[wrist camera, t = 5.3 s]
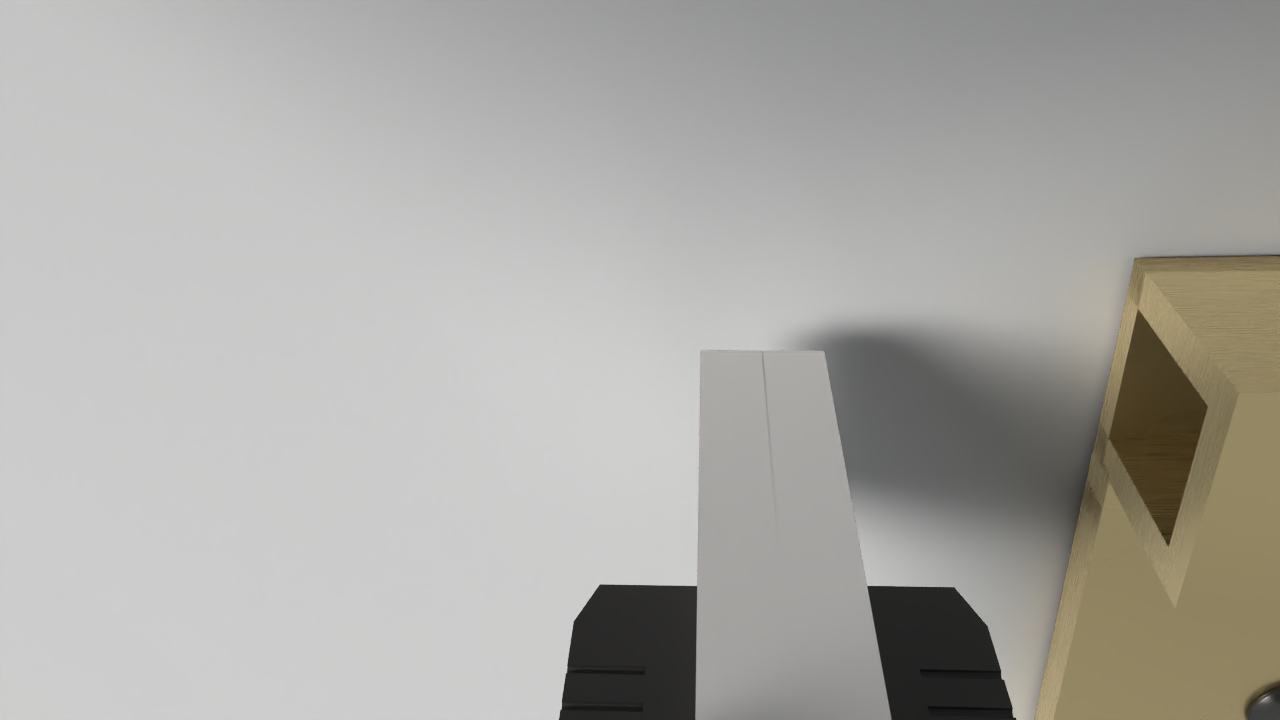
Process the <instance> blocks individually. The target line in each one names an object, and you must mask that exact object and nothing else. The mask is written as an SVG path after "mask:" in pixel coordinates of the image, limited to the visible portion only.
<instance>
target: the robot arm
mask: <svg viewBox="0 0 1280 720" xmlns="http://www.w3.org/2000/svg"><path fill="white" fill-rule="evenodd" d="M1012 709H1013V708H1012V705H1011V701H1010V698H1009V695H1008V692H1007V688H1006V685H1005V682H1004V680H1002V679H1001V669H1000V666H999V662H998V659H997V656H996V653H995V649H994V646H993V643H992V640H991V636H990V633H989V630H988V627H987V625H986V624H985V623H984V622H983V621H982V619H981V618H980V617H979V616H978V615H977V614H976V612H975V611H974V610H973V609H972V608H971V606H970V605H969V604H968V603H967V602H966V601H965V599H964V598H963V597H962V596H961V595H960V594H959V592H958V591H957V590H956V589H955V588H954V587H895V586H867V583H866V577H865V572H864V566H863V561H862V555H861V550H860V544H859V539H858V533H857V528H856V522H855V517H854V511H853V506H852V500H851V495H850V490H849V484H848V479H847V473H846V468H845V462H844V457H843V451H842V446H841V440H840V435H839V429H838V424H837V418H836V413H835V407H834V402H833V396H832V391H831V385H830V380H829V375H828V369H827V364H826V358H825V353H824V351H743V350H701V358H700V429H699V499H698V570H697V586H652V585H599V587H598V588H597V590H596V591H595V592H594V594H593V595H592V597H591V598H590V599H589V601H588V602H587V604H586V605H585V607H584V608H583V609H582V611H581V612H580V614H579V615H578V616H577V618H576V619H575V621H574V625H573V631H572V638H571V645H570V651H569V658H568V669H567V673H566V678H565V684H564V691H563V698H562V710H561V711H560V718H559V720H1016V718H1013V714H1012Z"/></svg>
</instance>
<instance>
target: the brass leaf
mask: <svg viewBox="0 0 1280 720" xmlns="http://www.w3.org/2000/svg"><path fill="white" fill-rule="evenodd" d="M1034 720H1280V256H1254V257H1194V258H1135V260H1134V265H1133V269H1132V274H1131V279H1130V283H1129V288H1128V292H1127V297H1126V302H1125V306H1124V311H1123V315H1122V320H1121V324H1120V329H1119V334H1118V338H1117V343H1116V347H1115V352H1114V356H1113V361H1112V366H1111V370H1110V375H1109V379H1108V384H1107V389H1106V393H1105V398H1104V402H1103V407H1102V411H1101V416H1100V421H1099V425H1098V430H1097V434H1096V439H1095V443H1094V448H1093V453H1092V457H1091V462H1090V466H1089V471H1088V476H1087V480H1086V485H1085V489H1084V494H1083V498H1082V503H1081V508H1080V512H1079V517H1078V521H1077V526H1076V530H1075V535H1074V540H1073V544H1072V549H1071V553H1070V558H1069V562H1068V567H1067V572H1066V576H1065V581H1064V585H1063V590H1062V595H1061V599H1060V604H1059V608H1058V613H1057V617H1056V622H1055V627H1054V631H1053V636H1052V640H1051V645H1050V649H1049V654H1048V659H1047V663H1046V668H1045V672H1044V677H1043V682H1042V686H1041V691H1040V695H1039V700H1038V704H1037V709H1036V714H1035V718H1034Z"/></svg>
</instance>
